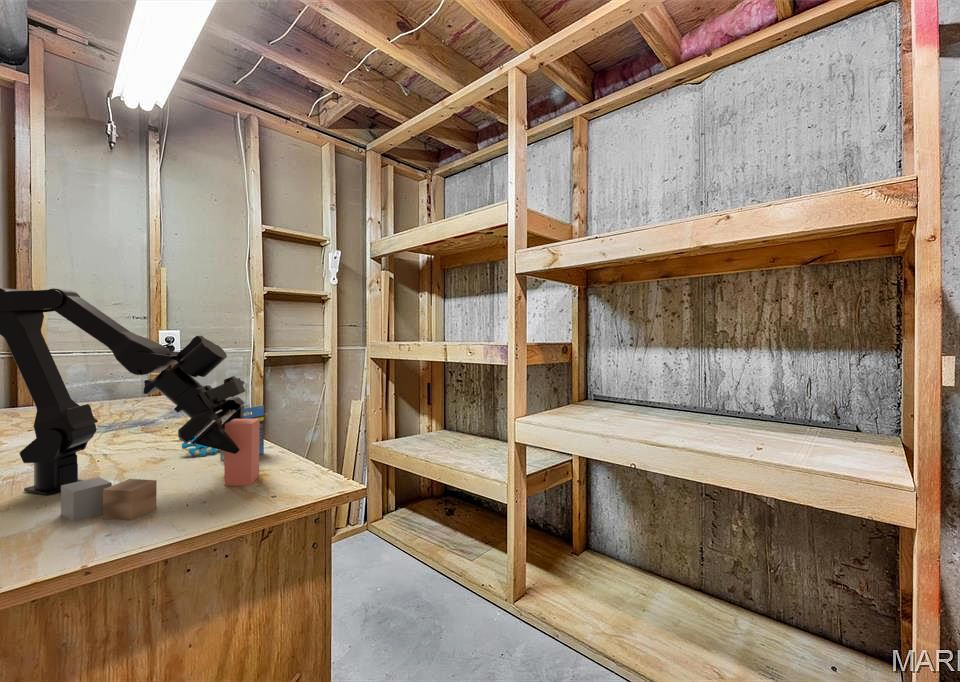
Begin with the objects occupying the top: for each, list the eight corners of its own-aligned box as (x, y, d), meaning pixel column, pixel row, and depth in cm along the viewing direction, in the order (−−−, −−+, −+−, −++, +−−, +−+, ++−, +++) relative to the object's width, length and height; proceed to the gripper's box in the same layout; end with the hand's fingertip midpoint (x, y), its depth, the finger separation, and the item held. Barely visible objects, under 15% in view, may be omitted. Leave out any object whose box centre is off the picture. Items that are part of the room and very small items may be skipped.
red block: (224, 485, 86) (224, 424, 86) (233, 477, 91) (234, 418, 91) (251, 484, 87) (251, 423, 87) (258, 476, 92) (259, 418, 91)
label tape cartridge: (254, 451, 109) (255, 403, 109) (264, 453, 108) (264, 405, 107) (219, 460, 101) (220, 408, 101) (229, 463, 100) (230, 410, 99)
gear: (178, 453, 100) (182, 417, 106) (174, 466, 103) (178, 431, 109) (231, 452, 107) (232, 419, 113) (226, 465, 110) (227, 431, 116)
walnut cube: (102, 519, 71) (102, 489, 70) (129, 506, 76) (129, 478, 75) (131, 521, 70) (131, 491, 70) (156, 508, 75) (156, 480, 75)
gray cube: (61, 514, 72) (60, 485, 72) (98, 504, 76) (98, 476, 76) (73, 522, 69) (73, 491, 69) (111, 511, 74) (111, 482, 74)
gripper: (196, 370, 78) (261, 428, 81) (234, 361, 96) (286, 409, 99) (148, 413, 77) (215, 471, 79) (196, 396, 95) (249, 443, 98)
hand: (245, 445), depth 89 cm, fingers open, 9 cm apart
